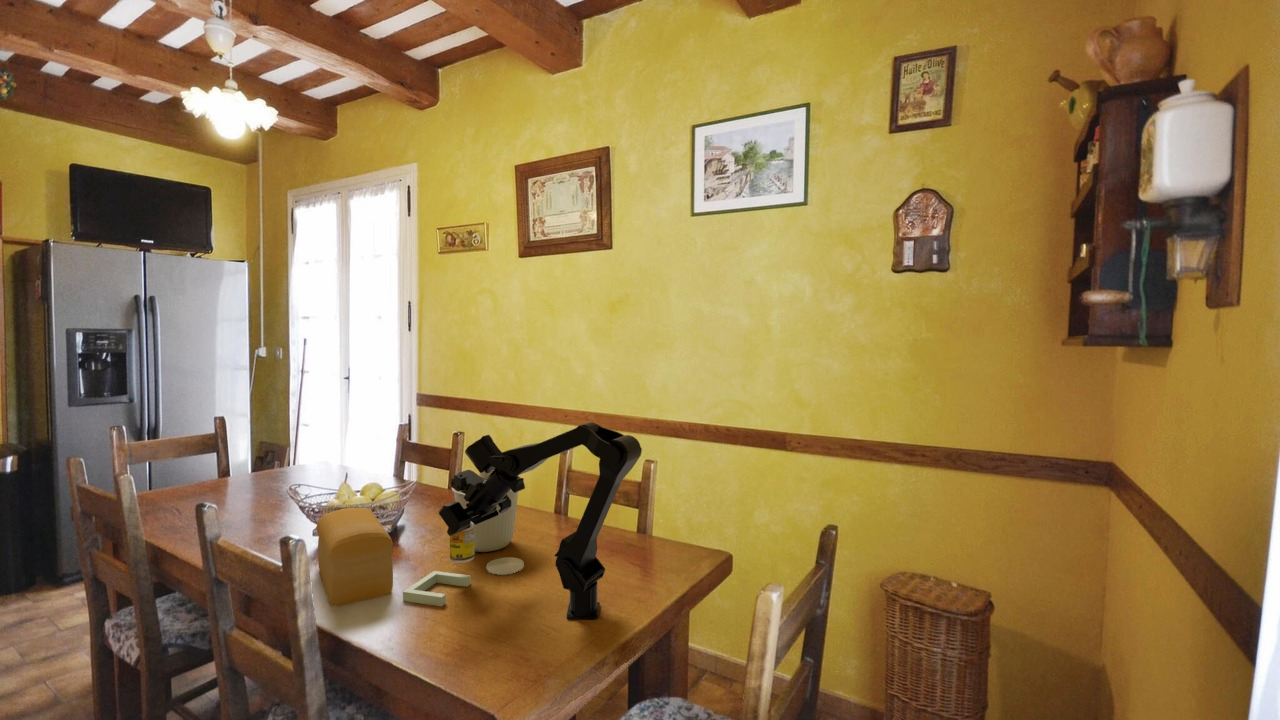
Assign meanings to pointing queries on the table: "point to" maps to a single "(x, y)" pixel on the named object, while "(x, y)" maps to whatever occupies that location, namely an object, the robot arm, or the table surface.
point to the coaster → (505, 566)
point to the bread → (354, 556)
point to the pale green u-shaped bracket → (418, 589)
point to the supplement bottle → (463, 545)
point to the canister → (493, 523)
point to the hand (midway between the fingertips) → (457, 530)
